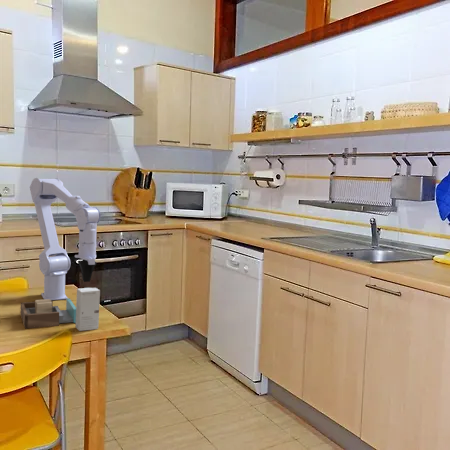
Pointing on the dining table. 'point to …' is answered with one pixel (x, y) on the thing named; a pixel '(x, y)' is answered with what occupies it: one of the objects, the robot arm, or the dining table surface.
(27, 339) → the dining table surface
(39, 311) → the birch block
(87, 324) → the skincare box
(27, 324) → the dock
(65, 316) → the tray
